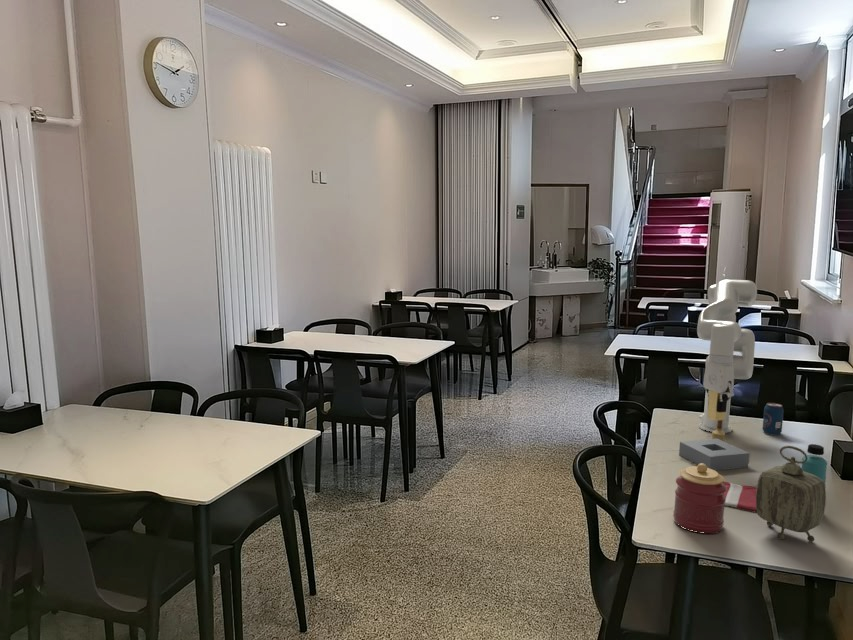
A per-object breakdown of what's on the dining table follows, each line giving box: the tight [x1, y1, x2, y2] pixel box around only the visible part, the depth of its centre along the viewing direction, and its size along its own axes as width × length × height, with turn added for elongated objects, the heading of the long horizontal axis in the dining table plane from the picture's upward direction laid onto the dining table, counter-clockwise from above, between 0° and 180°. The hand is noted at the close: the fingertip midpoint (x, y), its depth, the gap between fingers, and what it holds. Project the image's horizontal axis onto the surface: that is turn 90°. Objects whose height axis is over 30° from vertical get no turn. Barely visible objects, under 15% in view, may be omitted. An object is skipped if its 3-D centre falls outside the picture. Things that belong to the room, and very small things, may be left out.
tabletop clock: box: [756, 445, 827, 542], centre depth 170 cm, size 14×9×25 cm, turn 35°
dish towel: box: [722, 481, 757, 513], centre depth 197 cm, size 17×23×3 cm
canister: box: [672, 463, 727, 534], centre depth 177 cm, size 13×13×18 cm
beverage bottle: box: [801, 443, 828, 490], centre depth 186 cm, size 6×7×20 cm
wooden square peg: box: [707, 390, 726, 421], centre depth 225 cm, size 4×4×12 cm
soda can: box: [762, 402, 785, 436], centre depth 259 cm, size 7×7×12 cm
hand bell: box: [710, 420, 727, 443], centre depth 242 cm, size 8×8×16 cm
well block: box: [678, 438, 750, 471], centre depth 227 cm, size 16×16×5 cm
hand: (716, 409), depth 225 cm, fingers closed on wooden square peg, 4 cm apart
